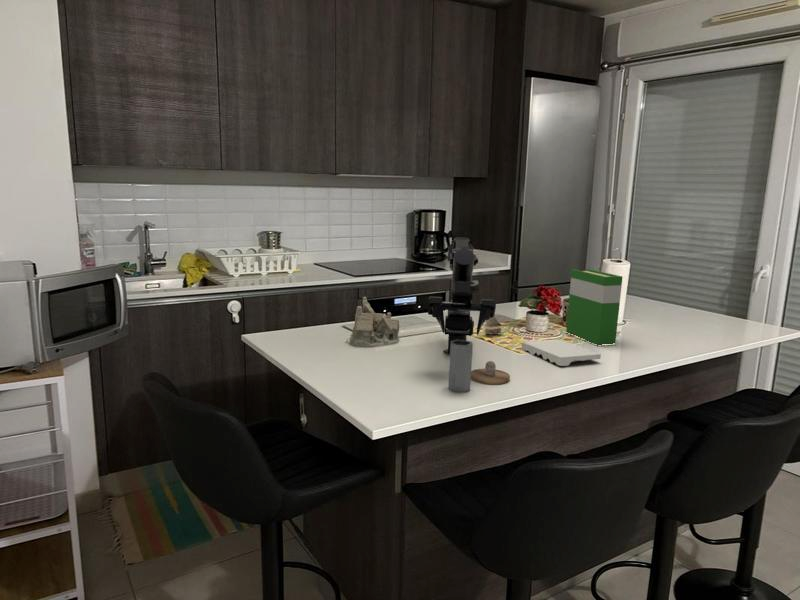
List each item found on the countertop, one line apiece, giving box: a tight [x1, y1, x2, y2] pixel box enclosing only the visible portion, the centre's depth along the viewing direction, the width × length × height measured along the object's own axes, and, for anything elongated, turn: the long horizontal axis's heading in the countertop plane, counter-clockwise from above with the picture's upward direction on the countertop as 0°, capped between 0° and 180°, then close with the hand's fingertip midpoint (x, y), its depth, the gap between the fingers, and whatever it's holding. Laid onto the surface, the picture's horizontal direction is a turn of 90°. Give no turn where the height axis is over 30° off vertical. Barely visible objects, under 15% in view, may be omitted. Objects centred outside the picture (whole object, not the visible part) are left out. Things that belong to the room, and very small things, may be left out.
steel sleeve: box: [447, 339, 474, 393], centre depth 154 cm, size 6×6×12 cm
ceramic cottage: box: [348, 296, 400, 349], centre depth 197 cm, size 16×16×15 cm
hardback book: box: [565, 268, 623, 345], centre depth 209 cm, size 18×7×24 cm, turn 21°
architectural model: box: [483, 314, 504, 335], centre depth 211 cm, size 3×7×7 cm, turn 122°
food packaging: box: [521, 339, 602, 367], centre depth 188 cm, size 15×3×20 cm
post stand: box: [471, 360, 511, 386], centre depth 164 cm, size 11×11×5 cm
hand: (460, 333), depth 161 cm, fingers open, 9 cm apart
